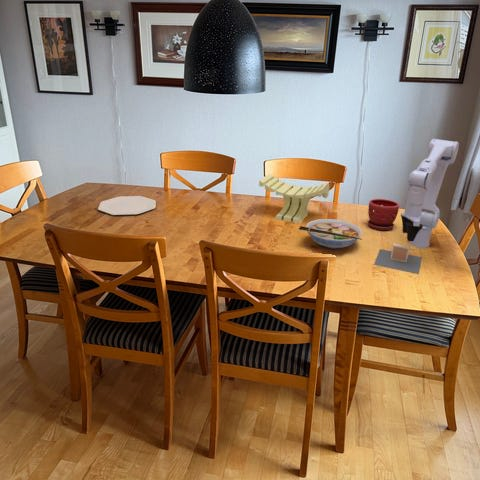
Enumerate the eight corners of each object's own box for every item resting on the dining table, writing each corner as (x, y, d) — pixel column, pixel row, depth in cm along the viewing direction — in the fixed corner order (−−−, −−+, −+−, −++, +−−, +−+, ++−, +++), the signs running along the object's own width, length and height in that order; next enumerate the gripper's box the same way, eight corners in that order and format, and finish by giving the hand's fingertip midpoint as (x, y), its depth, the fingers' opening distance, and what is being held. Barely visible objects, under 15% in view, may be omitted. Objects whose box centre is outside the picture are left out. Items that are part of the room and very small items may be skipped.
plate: (130, 195, 231) (130, 192, 230) (167, 206, 216) (167, 203, 216) (87, 208, 210) (87, 205, 210) (124, 221, 196) (124, 218, 195)
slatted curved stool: (325, 215, 209) (330, 180, 202) (317, 226, 196) (322, 189, 189) (268, 206, 220) (270, 172, 213) (257, 215, 207) (259, 180, 200)
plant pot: (400, 229, 196) (405, 204, 192) (380, 233, 190) (385, 208, 185) (379, 219, 207) (383, 196, 202) (359, 224, 200) (363, 200, 195)
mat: (379, 250, 173) (380, 248, 173) (421, 259, 167) (421, 257, 167) (373, 266, 160) (373, 264, 160) (418, 276, 154) (418, 274, 154)
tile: (390, 257, 166) (393, 243, 164) (406, 260, 164) (409, 246, 161) (390, 258, 165) (392, 244, 162) (406, 262, 162) (409, 248, 160)
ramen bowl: (366, 240, 182) (369, 223, 179) (356, 262, 163) (360, 242, 160) (309, 230, 192) (311, 213, 188) (294, 249, 172) (296, 230, 169)
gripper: (399, 196, 163) (393, 228, 168) (408, 208, 150) (401, 243, 155) (418, 197, 162) (411, 230, 168) (428, 210, 149) (421, 245, 154)
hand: (407, 236), depth 161 cm, fingers open, 7 cm apart
